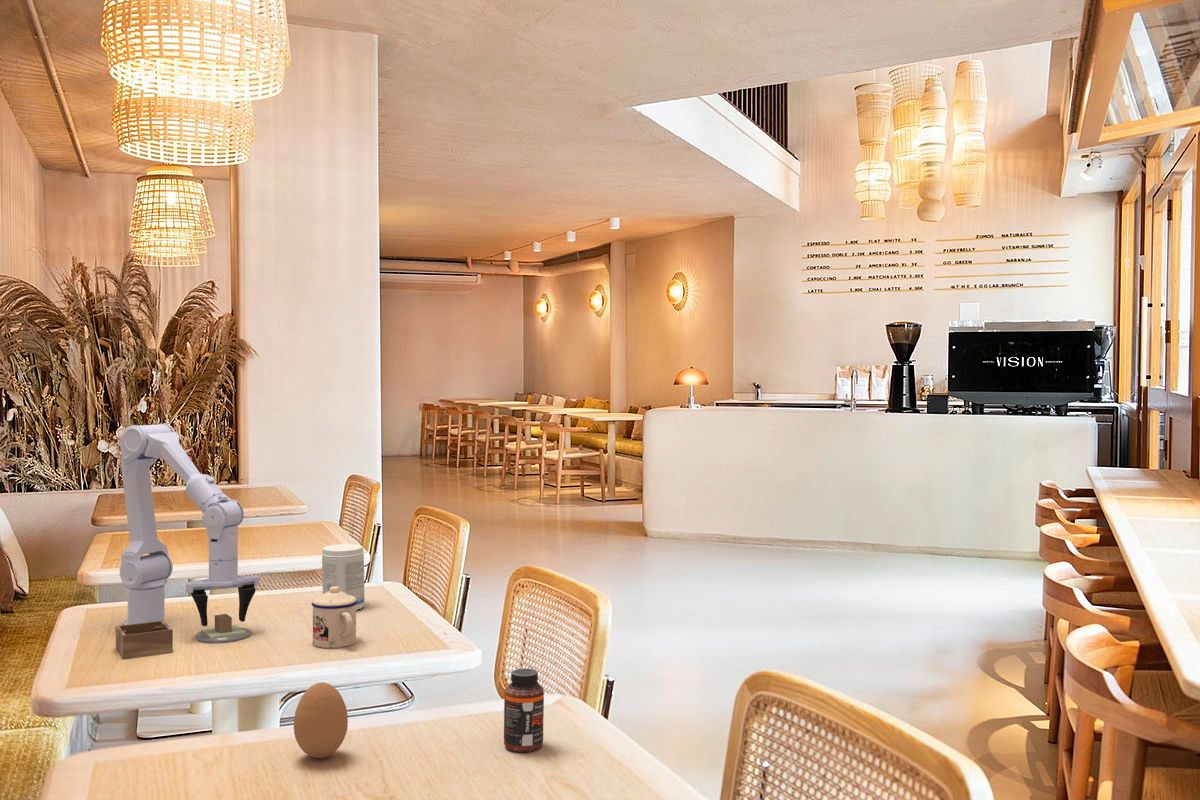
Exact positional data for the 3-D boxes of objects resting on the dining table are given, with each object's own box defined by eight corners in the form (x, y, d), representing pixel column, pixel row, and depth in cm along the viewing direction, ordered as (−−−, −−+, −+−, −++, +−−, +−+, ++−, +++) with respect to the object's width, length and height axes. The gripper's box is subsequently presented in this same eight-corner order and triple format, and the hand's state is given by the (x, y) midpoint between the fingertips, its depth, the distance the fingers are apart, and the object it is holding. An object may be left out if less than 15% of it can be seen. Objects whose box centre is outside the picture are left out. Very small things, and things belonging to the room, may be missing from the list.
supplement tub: (364, 603, 247) (364, 543, 247) (364, 612, 238) (364, 549, 238) (322, 605, 245) (322, 544, 245) (321, 614, 236) (321, 550, 236)
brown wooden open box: (115, 648, 206) (115, 626, 205) (163, 642, 211) (163, 620, 210) (123, 659, 198) (123, 635, 198) (172, 652, 203) (172, 629, 203)
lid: (200, 632, 217) (200, 615, 217) (235, 627, 221) (235, 610, 221) (210, 639, 211) (210, 622, 211) (245, 634, 215) (245, 617, 215)
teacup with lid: (304, 642, 212) (304, 586, 211) (345, 635, 218) (345, 580, 217) (329, 655, 202) (329, 596, 202) (371, 647, 208) (371, 590, 208)
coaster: (189, 634, 217) (189, 631, 217) (243, 627, 223) (243, 624, 223) (202, 645, 208) (202, 642, 208) (257, 638, 214) (257, 635, 214)
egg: (290, 751, 151) (290, 678, 151) (342, 744, 154) (343, 673, 154) (297, 770, 144) (297, 693, 144) (352, 762, 147) (352, 687, 147)
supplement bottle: (538, 755, 151) (539, 678, 150) (499, 752, 152) (499, 676, 151) (547, 740, 157) (547, 667, 156) (509, 738, 158) (510, 665, 157)
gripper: (191, 565, 208) (191, 631, 208) (263, 558, 216) (263, 622, 216) (183, 559, 214) (183, 624, 214) (254, 553, 222) (254, 615, 222)
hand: (223, 623), depth 216 cm, fingers open, 7 cm apart
